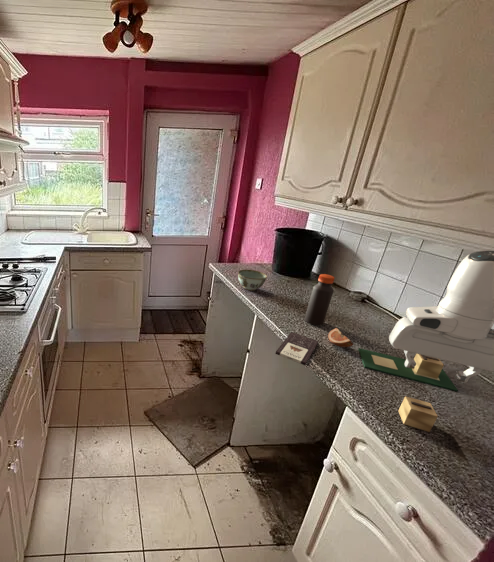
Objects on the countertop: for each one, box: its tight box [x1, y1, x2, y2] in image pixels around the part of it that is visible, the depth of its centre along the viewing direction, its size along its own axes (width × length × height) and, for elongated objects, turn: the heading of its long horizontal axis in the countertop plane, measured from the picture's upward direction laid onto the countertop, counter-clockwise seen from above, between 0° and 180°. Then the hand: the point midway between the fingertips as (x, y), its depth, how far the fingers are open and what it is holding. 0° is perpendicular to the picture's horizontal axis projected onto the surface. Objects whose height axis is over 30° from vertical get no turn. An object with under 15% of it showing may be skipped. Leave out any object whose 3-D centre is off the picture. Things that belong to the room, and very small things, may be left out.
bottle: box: [304, 273, 335, 327], centre depth 123 cm, size 7×7×20 cm
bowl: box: [237, 269, 268, 292], centre depth 157 cm, size 14×14×8 cm
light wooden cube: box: [397, 396, 439, 433], centre depth 78 cm, size 5×5×5 cm
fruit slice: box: [327, 327, 354, 348], centre depth 110 cm, size 8×7×5 cm
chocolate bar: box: [274, 331, 319, 366], centre depth 108 cm, size 9×1×18 cm
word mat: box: [357, 347, 459, 392], centre depth 99 cm, size 22×12×1 cm, turn 62°
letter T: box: [413, 353, 445, 379], centre depth 96 cm, size 5×5×5 cm
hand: (434, 373), depth 74 cm, fingers open, 8 cm apart
